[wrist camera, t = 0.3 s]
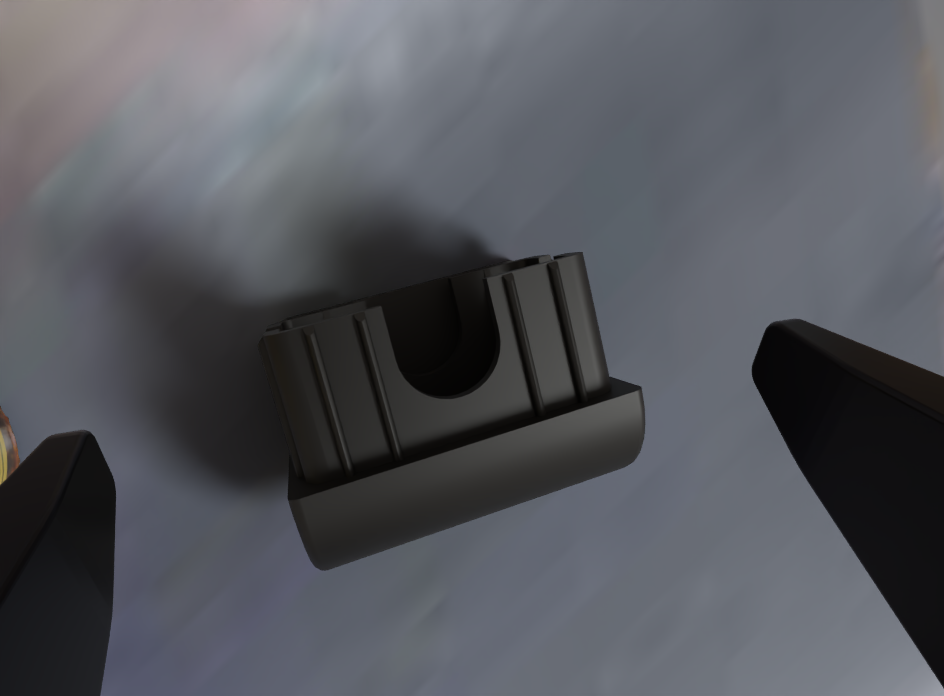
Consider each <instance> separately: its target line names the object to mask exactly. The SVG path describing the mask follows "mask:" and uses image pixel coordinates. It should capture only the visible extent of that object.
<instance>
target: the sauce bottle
mask: <svg viewBox="0 0 944 696" xmlns="http://www.w3.org/2000/svg"><path fill="white" fill-rule="evenodd" d="M19 463H20V459H19V456H18V449H17V443H16V440H15V436H14V433H13V431H12V429H11V426H10V424H9V419H8V417H6V416H5V415H4V413H3V412H2V410H1V406H0V485H1V484H2V483H3V482H4V481H5V480H6V479H7V477H8V476H9V475H10V474H11V473H12V472H13V471H14V470H15V469H16V468H17V467H18V466H19Z"/></svg>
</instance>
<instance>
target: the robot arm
mask: <svg viewBox="0 0 944 696" xmlns="http://www.w3.org/2000/svg"><path fill="white" fill-rule="evenodd" d="M752 377H753V381H754V383H755V385H756V387H757V389H758V391H759V393H760V395H761V396H762V398H763V400H764V402H765V404H766V406H767V408H768V410H769V412H770V414H771V416H772V418H773V419H774V421H775V423H776V425H777V427H778V429H779V431H780V433H781V435H782V437H783V439H784V441H785V442H786V444H787V446H788V448H789V450H790V452H791V454H792V456H793V458H794V459H795V461H796V463H797V465H798V467H799V468H800V470H801V471H802V473H803V475H804V476H805V478H806V480H807V481H808V483H809V484H810V486H811V487H812V489H813V490H814V492H815V493H816V495H817V496H818V498H819V499H820V501H821V502H822V504H823V505H824V507H825V509H826V510H827V512H828V513H829V515H830V516H831V518H832V519H833V521H834V522H835V524H836V525H837V527H838V528H839V530H840V531H841V533H842V534H843V536H844V537H845V539H846V540H847V542H848V543H849V545H850V547H851V548H852V550H853V551H854V553H855V554H856V556H857V557H858V559H859V560H860V562H861V563H862V565H863V566H864V568H865V569H866V571H867V572H868V574H869V575H870V577H871V578H872V580H873V581H874V583H875V585H876V586H877V588H878V589H879V591H880V592H881V594H882V595H883V597H884V598H885V600H886V601H887V603H888V604H889V606H890V607H891V609H892V610H893V612H894V613H895V615H896V616H897V618H898V619H899V621H900V623H901V624H902V626H903V627H904V629H905V630H906V632H907V633H908V635H909V636H910V638H911V639H912V641H913V642H914V644H915V645H916V647H917V648H918V650H919V651H920V653H921V654H922V656H923V657H924V659H925V661H926V662H927V664H928V665H929V667H930V668H931V670H932V671H933V673H934V674H935V676H936V677H937V679H938V680H939V682H940V683H941V685H942V686H943V688H944V377H943V376H941V375H938V374H936V373H933V372H931V371H928V370H926V369H923V368H921V367H918V366H916V365H913V364H911V363H908V362H906V361H903V360H901V359H898V358H896V357H893V356H891V355H888V354H886V353H883V352H881V351H879V350H876V349H874V348H871V347H869V346H866V345H864V344H861V343H859V342H856V341H854V340H851V339H849V338H846V337H844V336H841V335H839V334H836V333H834V332H831V331H829V330H826V329H824V328H821V327H819V326H816V325H814V324H811V323H809V322H806V321H804V320H801V319H789V320H782V321H776V322H773V323H771V324H770V325H769V326H768V327H767V328H766V330H765V332H764V335H763V337H762V340H761V343H760V345H759V348H758V351H757V353H756V356H755V359H754V362H753V365H752ZM115 515H116V489H115V482H114V479H113V476H112V473H111V471H110V469H109V467H108V465H107V462H106V460H105V458H104V456H103V454H102V452H101V449H100V447H99V445H98V443H97V441H96V439H95V437H94V436H93V434H92V433H91V432H89V431H86V430H79V431H72V432H66V433H59V434H54V435H51V436H49V437H47V438H46V439H45V440H44V441H43V442H42V443H41V444H40V445H39V446H38V447H37V448H36V449H35V450H34V451H33V452H32V453H31V454H30V455H29V456H28V457H27V458H26V459H25V460H24V461H23V462H22V463H21V464H20V465H19V466H18V467H17V468H16V469H15V470H14V471H13V472H12V473H11V474H10V475H9V476H8V477H7V479H6V480H5V481H4V482H3V483H2V484H1V485H0V696H100V694H101V688H102V681H103V675H104V668H105V662H106V656H107V649H108V643H109V636H110V629H111V621H112V610H113V587H114V551H115Z"/></svg>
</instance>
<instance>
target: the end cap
mask: <svg viewBox="0 0 944 696" xmlns="http://www.w3.org/2000/svg"><path fill="white" fill-rule="evenodd" d="M553 258H554V260H552V259H551V257H550V255H541V256H533V257H528V258H524V259H520V260H516V261H505V262H501V263H497V264H493V265H489V266H485V267H482V268H478V269H474V270H470V271H466V272H462V273H459V274H455V275H451V276H447V277H443V278H439V279H435V280H432V281H428V282H424V283H420V284H416V285H412V286H409V287H405V288H401V289H397V290H393V291H389V292H385V293H382V294H378V295H374V296H370V297H366V298H362V299H359V300H355V301H351V302H347V303H343V304H339V305H336V306H332V307H328V308H324V309H320V310H316V311H312V312H309V313H305V314H301V315H297V316H293V317H289V318H287V319H285V320H283V321H281V322H279V323H275V324H272V325H270V326H268V328H267V330H266V332H265V333H264V335H263V337H262V339H261V340H260V342H259V344H258V349H259V352H260V355H261V359H262V362H263V365H264V369H265V372H266V375H267V379H268V382H269V385H270V389H271V392H272V395H273V398H274V402H275V405H276V408H277V412H278V415H279V418H280V422H281V425H282V428H283V432H284V435H285V438H286V441H287V445H288V448H289V451H290V457H289V480H288V501H289V504H290V508H291V511H292V514H293V517H294V520H295V523H296V526H297V528H298V531H299V534H300V537H301V539H302V542H303V544H304V547H305V549H306V552H307V554H308V556H309V558H310V560H311V562H312V563H313V565H314V566H315V567H316V568H318V569H320V570H324V571H325V570H329V569H332V568H335V567H338V566H341V565H344V564H347V563H350V562H353V561H355V560H358V559H361V558H364V557H367V556H370V555H373V554H376V553H379V552H381V551H384V550H387V549H390V548H393V547H396V546H399V545H402V544H405V543H407V542H410V541H413V540H416V539H419V538H422V537H425V536H428V535H431V534H433V533H436V532H439V531H442V530H445V529H448V528H451V527H454V526H456V525H459V524H462V523H465V522H468V521H471V520H474V519H477V518H480V517H482V516H485V515H488V514H491V513H494V512H497V511H500V510H503V509H506V508H508V507H511V506H514V505H517V504H520V503H523V502H526V501H529V500H532V499H534V498H537V497H540V496H543V495H546V494H549V493H552V492H555V491H558V490H560V489H563V488H566V487H569V486H572V485H575V484H578V483H581V482H584V481H586V480H589V479H592V478H595V477H598V476H601V475H604V474H607V473H610V472H612V471H615V470H618V469H621V468H624V467H626V466H628V465H629V464H631V463H632V462H634V460H635V459H636V458H637V456H638V454H639V453H640V451H641V447H642V444H643V440H644V433H645V408H644V401H643V395H642V388H641V387H640V386H637V385H634V384H631V383H628V382H625V381H622V380H619V379H615V378H612V377H609V373H608V368H607V364H606V359H605V354H604V350H603V345H602V340H601V336H600V331H599V326H598V322H597V317H596V312H595V308H594V303H593V299H592V294H591V289H590V285H589V280H588V275H587V271H586V266H585V261H584V257H583V252H575V253H565V254H561V255H557V256H553Z"/></svg>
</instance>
